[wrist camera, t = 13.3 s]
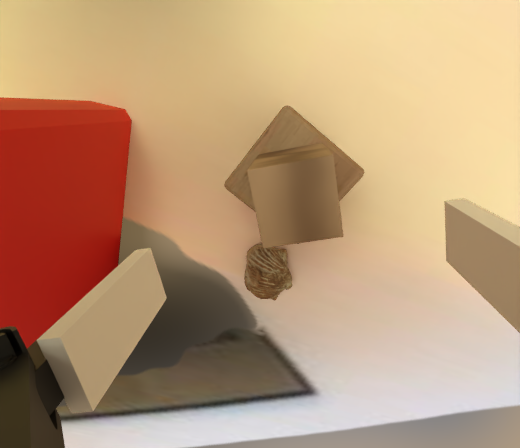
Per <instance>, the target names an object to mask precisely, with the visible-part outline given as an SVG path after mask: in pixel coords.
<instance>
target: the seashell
mask: <svg viewBox="0 0 520 448" xmlns="http://www.w3.org/2000/svg"><path fill="white" fill-rule="evenodd" d="M246 258H247V266H246V270H245V285H246V287H247V289H248V290H249V291H251V292H252V293H253V294H254V295H255V296H256V297H259V298H261V299H269V298H270V299H273V300H276V299H277V297H278V295H279V293H280V292H281V291H283V290H284V289H286V290H287V289H290V288H291V287H292V277H291V274H290V272H289V269H288V267H287V251H286V249H276V248H273V247H268V248H263V245H262V244H259V245H255V246H254V247H252V248H251V249H250V250H249V251H248V252H247V256H246Z"/></svg>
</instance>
